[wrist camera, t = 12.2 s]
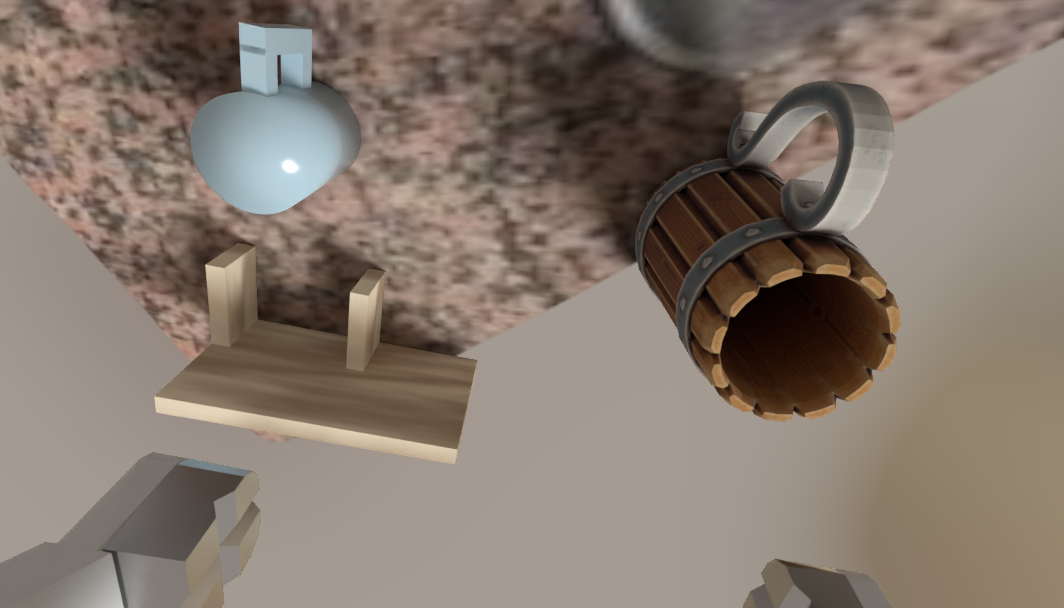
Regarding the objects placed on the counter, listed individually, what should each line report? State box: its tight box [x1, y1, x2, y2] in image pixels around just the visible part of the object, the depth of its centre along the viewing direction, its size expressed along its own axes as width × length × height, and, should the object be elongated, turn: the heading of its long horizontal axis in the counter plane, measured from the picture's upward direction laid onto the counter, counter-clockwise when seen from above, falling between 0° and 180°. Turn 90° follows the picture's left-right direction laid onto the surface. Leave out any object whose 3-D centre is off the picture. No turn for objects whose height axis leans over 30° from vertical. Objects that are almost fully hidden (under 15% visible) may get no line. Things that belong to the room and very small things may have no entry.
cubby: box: [154, 243, 477, 464], centre depth 35 cm, size 7×18×10 cm, turn 79°
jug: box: [191, 22, 361, 214], centre depth 30 cm, size 9×6×8 cm, turn 169°
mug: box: [635, 81, 901, 422], centre depth 29 cm, size 16×11×15 cm
